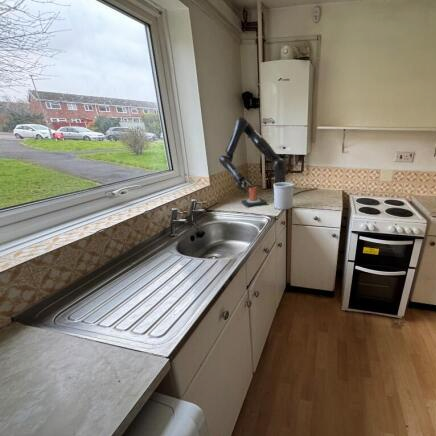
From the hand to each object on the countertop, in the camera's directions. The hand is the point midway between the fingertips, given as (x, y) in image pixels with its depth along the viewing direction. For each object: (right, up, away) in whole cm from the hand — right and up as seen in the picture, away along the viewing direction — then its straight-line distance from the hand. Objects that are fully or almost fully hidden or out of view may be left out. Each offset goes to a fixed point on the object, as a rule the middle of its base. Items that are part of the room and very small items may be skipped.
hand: (249, 191), depth 183 cm
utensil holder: (+27, -13, -8) cm, 31 cm away
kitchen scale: (+3, -10, +1) cm, 10 cm away
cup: (+3, -7, +1) cm, 7 cm away
